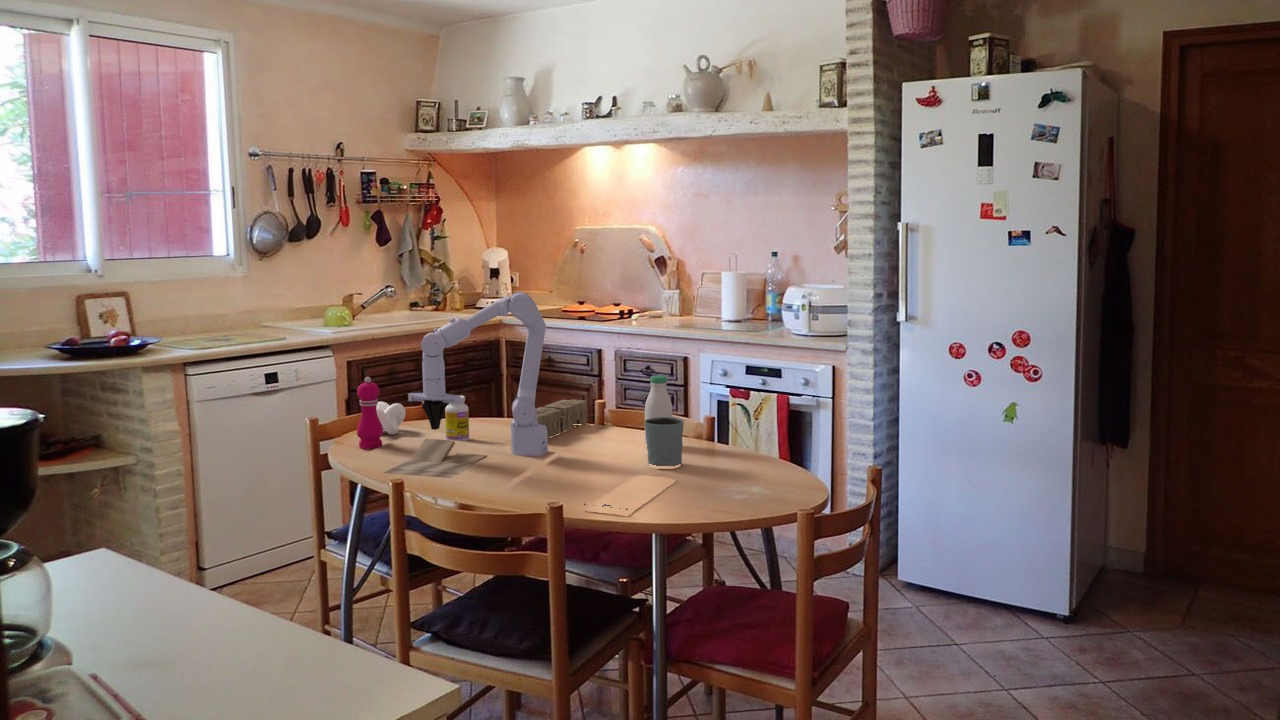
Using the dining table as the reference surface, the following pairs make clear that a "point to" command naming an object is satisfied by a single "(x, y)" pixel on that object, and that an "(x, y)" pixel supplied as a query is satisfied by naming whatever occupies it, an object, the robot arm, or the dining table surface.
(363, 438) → the pepper mill
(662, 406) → the milk bottle
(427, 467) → the grey slab
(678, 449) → the grey-green tapered open cylinder
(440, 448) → the plank
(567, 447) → the dining table surface
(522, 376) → the robot arm
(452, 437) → the supplement bottle
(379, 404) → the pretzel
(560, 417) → the block tower
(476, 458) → the plank
